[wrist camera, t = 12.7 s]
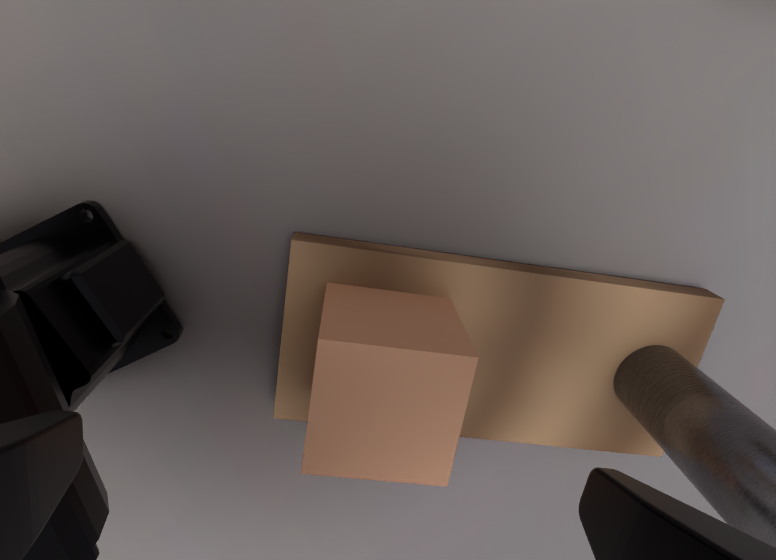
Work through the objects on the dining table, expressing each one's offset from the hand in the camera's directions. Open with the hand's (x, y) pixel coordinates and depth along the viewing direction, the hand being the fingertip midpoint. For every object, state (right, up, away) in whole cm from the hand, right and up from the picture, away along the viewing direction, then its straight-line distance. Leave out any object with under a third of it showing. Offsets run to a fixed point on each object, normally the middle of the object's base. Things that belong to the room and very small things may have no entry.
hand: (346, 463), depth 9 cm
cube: (0, 0, +12) cm, 12 cm away
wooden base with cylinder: (+5, 0, +14) cm, 15 cm away
